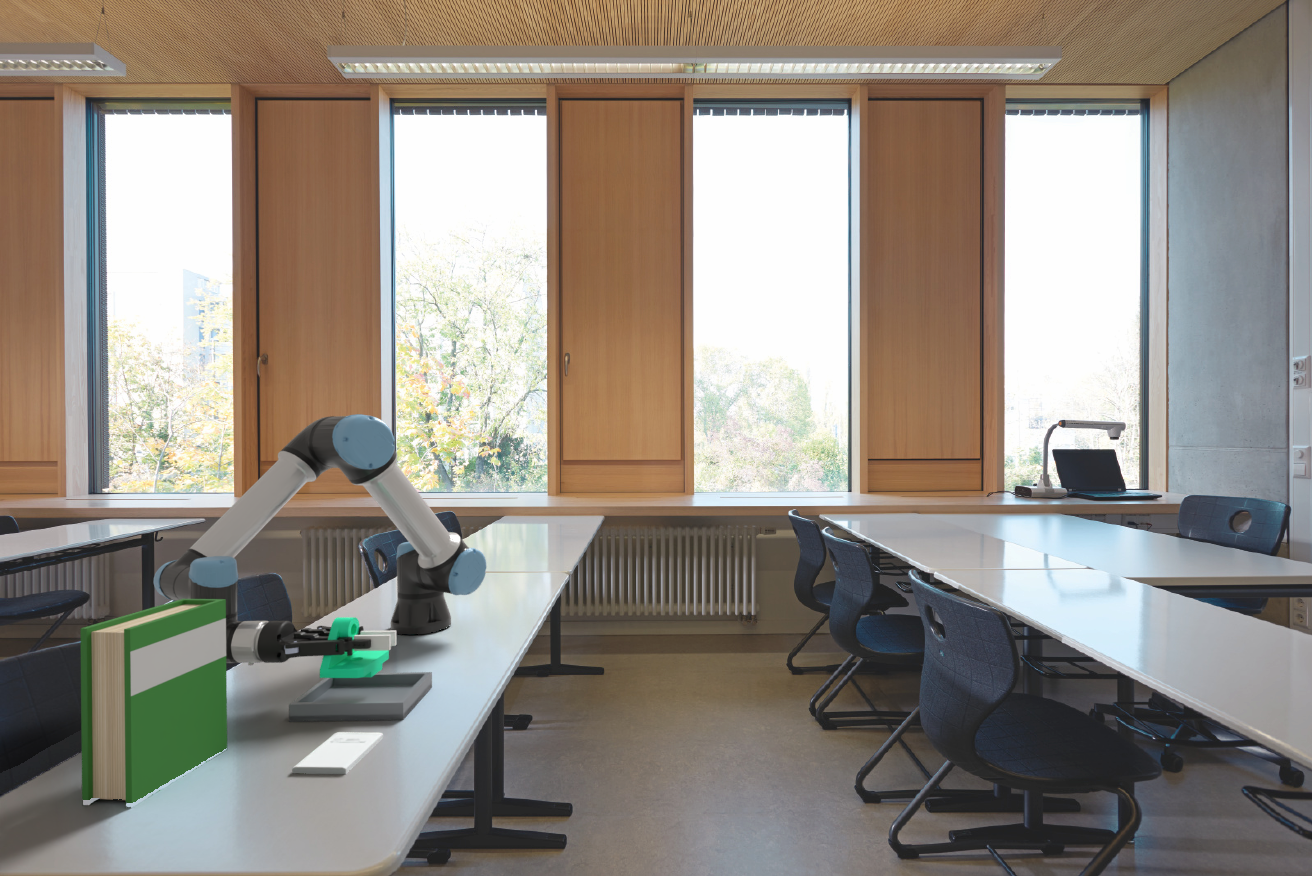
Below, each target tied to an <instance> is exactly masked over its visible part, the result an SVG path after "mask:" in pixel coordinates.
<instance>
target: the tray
mask: <svg viewBox="0 0 1312 876" xmlns="http://www.w3.org/2000/svg"><path fill="white" fill-rule="evenodd" d="M432 688H433V672H432V671H427V672H426V671H424V672H423V671H422V672H421V671H420V672H419V671H418V672H416V671H415V672H412V671H411V672H378V673H376V674H375V675H374V676H372V677H361V678H322V680H321V681H319V682H317V683H316V684H315V685H313V686H312V687H311V688H310V689H308V690H307V691H305V692H304V693H302V695H300V696H299V697H297V698H296V699H294V700H293V701H292V702H290V703H289V704H288V722H290V723H291V722H294V723H295V722H296V723H297V722H298V723H299V722H344V721H348V722H350V721H353V722H354V721H355V722H356V721H357V722H358V721H402V720H404V719H406V717H408V715H409V714H410V713H411V712H412V711H413V709H415V708H416V706H417V705H418V704H419V703H420V702H421V700H422V699H424V697H425V696H426V695H427V694H428V692H430V690H431V689H432Z"/></svg>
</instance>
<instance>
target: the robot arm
mask: <svg viewBox="0 0 1312 876" xmlns="http://www.w3.org/2000/svg"><path fill="white" fill-rule="evenodd" d="M394 443H395V436H394V435H393V431H392V429H391V428H390V427H389V426H388V425H387V423H386V422H384V421H383V420H382V419H380V418H378V417H375V416H372V415H366V414H361V413H360V414H358V413H357V414H350V415H340V416H338V415H337V416H335V415H332V416H331V415H330V416H324V417H321V418H319V419H316V420H315V421H313V422H311V423H309V425H307V426H305V428H303V429H302V430H301V431H300V432H299V433H298V434H297V435H295V437H293V438H292V439H291V440H290V441H289V442H288V443H287V444H286V445H285V446H284V447H283V448H282V449H281V450H280V451H278V453H277V459H278V460H277V461H276V462H275V463H274V464H273V465H271V467H270V468H269V469H268V470H267V471H265V473H263V475H261V477H259V479H258V480H257V481H256V482H254V484H253V485H251V487H249V488H248V490H247V491H246V492H244V494H243V495H241V496H240V497H239V499H238V500H236V502H235V503H234V504H233V505H232V506H230V508H229V509H227V511H225V513H224V514H222V516H221V517H220V518H218V520H216V521H215V522H214V523H213V524H212V525H211V527H209V528H208V529H207V530H206V532H204V533H203V534H202V536H201V537H199V539H197V541H195V542H194V543H193V545H191V546H190V547H189V548H188V549H187V550H186V551H185V552H184V553H183V554H182V555H181V556H180V557H179V558H178V559H174V560H172V561H171V560H170V561H168V562H165V563H164V564H162V565H161V566H160V567H159V568H158V569H157V570H156V572H155V574H154V577H153V585H154V589H155V591H156V592H157V593H158V594H159V595H161V596H162V597H164V598H166V599H167V600H170V601H172V602H174V601H177V600H181V599H226V664H245V663H247V665H248V666H253V665H254V663H257V664H258V663H264V664H267V663H268V664H270V663H271V664H273V663H275V664H276V663H279V664H280V663H286V662H287V661H288V660H289V659H292V658H299V657H300V658H301V657H304V658H305V657H320V656H322V657H323V656H325V655H343V654H345V652H347V656H351V655H352V649H354V651H380V650H389V651H390V650H391V649H392V647H395V646H396V645H397V643H398V642H397V635H402V634H418V635H424V634H425V635H427V634H432V633H431V632H433V633H436V632H435V631H437V632H439V631H438V630H440V629H444V630H446V629H447V628H446V627H448V626H449V625H451V626H452V615H451V612H450V610H449V606H448V603H447V602H446V598H445V594H449V595H450V594H451V595H454V596H467V595H471V594H472V593H474V592H476V591H477V590H478V589H479V588H480V586H481V585H482V583H483V581H484V579H485V578H486V570H487V559H486V557H485V555H484V553H483V552H482V551H481V550H479V549H478V548H477V549H476V548H475V547H469V546H468V545H467V544H466V543H465V541H464V540H463V538H462V537H461V536H460V534H458V533H457V532H451V531H448V530H447V528H446V527H445V525H443V523H442V522H441V521H440V519H439V518H438V517H437V515H436V514H435V512H433V510H432V509H431V507H430V506H429V505H428V504H427V502H426V500H424V498H423V497H422V496H421V494H420V493H419V491H418V490H417V489H416V488H415V486H414V485H413V483H412V482H411V481H410V480H409V479H408V477H407V476H406V475H405V473H404V472H403V471H402V469H401V468H400V467H399V465H398V464H397V459H398V452H397V451H396V450H395V445H394ZM330 469H339V470H340V471H341V472H342V474H343V475H344V476H345V477H346V478H347V480H348V481H349V482H350V483H351V484H352V485H355V486H362V487H363V488H364V489H365V490H366V491H367V492H368V493H369V495H370V496H371V497H372V499H373V500H374V501H375V502H376V503H377V505H378V506H379V507H380V508H381V510H383V512H384V514H385V515H386V516H387V517H388V518H389V520H390V521H391V522H392V523H393V524H394V525H395V527H396V528H397V530H398V531H400V533H401V534H402V536H404V538H405V539H406V540H407V541H406V542H402V543H400V544H398V546H397V549H396V557H395V559H396V582H397V583H396V589H397V590H396V592H397V593H396V594H397V598H396V599H397V600H396V604H395V607H394V609H393V613H392V616H391V619H390V630H364V626H362V625H361V626H359V632H358V635H355V636H354V639H352V637H339V638H337V640H328V637H329V634H330V630H331V626H325V625H318V626H316V628H313V629H312V628H311V627H305V628H304V627H303V628H300V630H297V629H296V627H295V624H294V623H293V622H292V621H290V620H270V621H268V620H244V621H243V620H242V621H240V620H238V593H239V591H238V588H239V587H238V584H239V582H238V580H239V572H238V564H237V562H238V561H237V559H236V556H237V555H238V554H239V553H241V552H242V550H244V548H245V547H246V546H247V545H249V543H250V542H251V541H252V540H253V539H254V538H255V537H256V535H258V534H259V532H261V531H262V529H263V528H264V527H265V526H266V525H267V524H269V522H270V521H271V520H272V519H273V518H274V517H275V516H276V515H277V513H279V512H280V510H281V509H283V508H284V506H285V505H286V504H287V503H288V502H289V501H291V499H292V498H293V497H295V495H296V494H297V493H298V492H299V490H301V489H302V488H303V487H304V486H305V485H306V483H308V482H310V483H311V482H315V481H316V480H317V478H319V476H321V474H323V473H325V472H326V471H328V470H330ZM445 628H446V629H445ZM448 628H449V627H448ZM336 644H337V651H336Z"/></svg>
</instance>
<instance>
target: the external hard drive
mask: <svg viewBox="0 0 1312 876" xmlns="http://www.w3.org/2000/svg"><path fill="white" fill-rule="evenodd" d="M383 738H384V734H383V732H364V731H363V732H360V731H359V732H356V731H354V732H353V731H352V732H351V731H350V732H349V731H348V732H347V731H338V732H335V733H333V734H332V735H331V736H330V737H328V738H327V739H326V740H324V741H323V742H322V743H321V744H320V745H319V746H317V747H316V748H315V749H314V750H313V751H311V752H310V753H308V754H307V755H306V756H305V757H304V758H302V759H301V760H300V761H299V762H298V763H297V764H296V765H294V766H293V767H292V768H291V774H292V773H304V774H303V775H347V774H348V773H349V772H350V771H351V770H353V768H354V767H355V766H357V764H358V763H359V762H360V761H361V760H362V759H363V758H364V757H365V756H367V755H368V753H370V752H371V750H372V749H374V748H375V746H376V745H378V744H379V743H380V742H381V741H382V740H383ZM349 770H350V771H349ZM305 773H306V774H305Z"/></svg>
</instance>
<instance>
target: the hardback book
mask: <svg viewBox="0 0 1312 876" xmlns="http://www.w3.org/2000/svg"><path fill="white" fill-rule="evenodd" d="M227 689H228V687H227V663H226V599H181V600H177V601H170V602H167V603H164V604H160V605H157V606H152V607H150V608H147V609H143V610H140V611H137V612H134V613H129V614H126V615H122V616H119V617H116V618H112V619H109V620H108V619H107V620H105V621H101V622H98V623H95V624H91V625H88V626H84V627H81V628H80V699H81V700H80V705H81V706H80V709H81V710H80V713H81V714H80V715H81V717H80V723H81V725H80V726H81V800H82V799H83V800H90V799H91V798H100V800H113V799H118V800H117V801H120V800H119V799H122V800H121V801H125V803H126V802H127V803H133V802H136V801H137V800H138V799H140V798H143V797H144V796H146V795H147V794H148V793H151V792H153V791H154V790H155V789H158V788H159V787H160V786H162V785H164V784H166V783H168V782H169V781H170V780H172V779H175V778H176V777H178V776H180V775H182V774H184V773H185V772H186V771H188V770H191V769H192V768H194V767H195V766H198V765H199V764H201V762H203V761H206V760H207V759H208V758H210V757H212V756H214V755H215V754H217V753H219V752H222V751H223V750H224V749H226V748H227V749H228V706H227V705H228V699H227V698H228V697H227V696H228V695H227V694H228V693H227ZM222 753H223V752H222Z"/></svg>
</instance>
